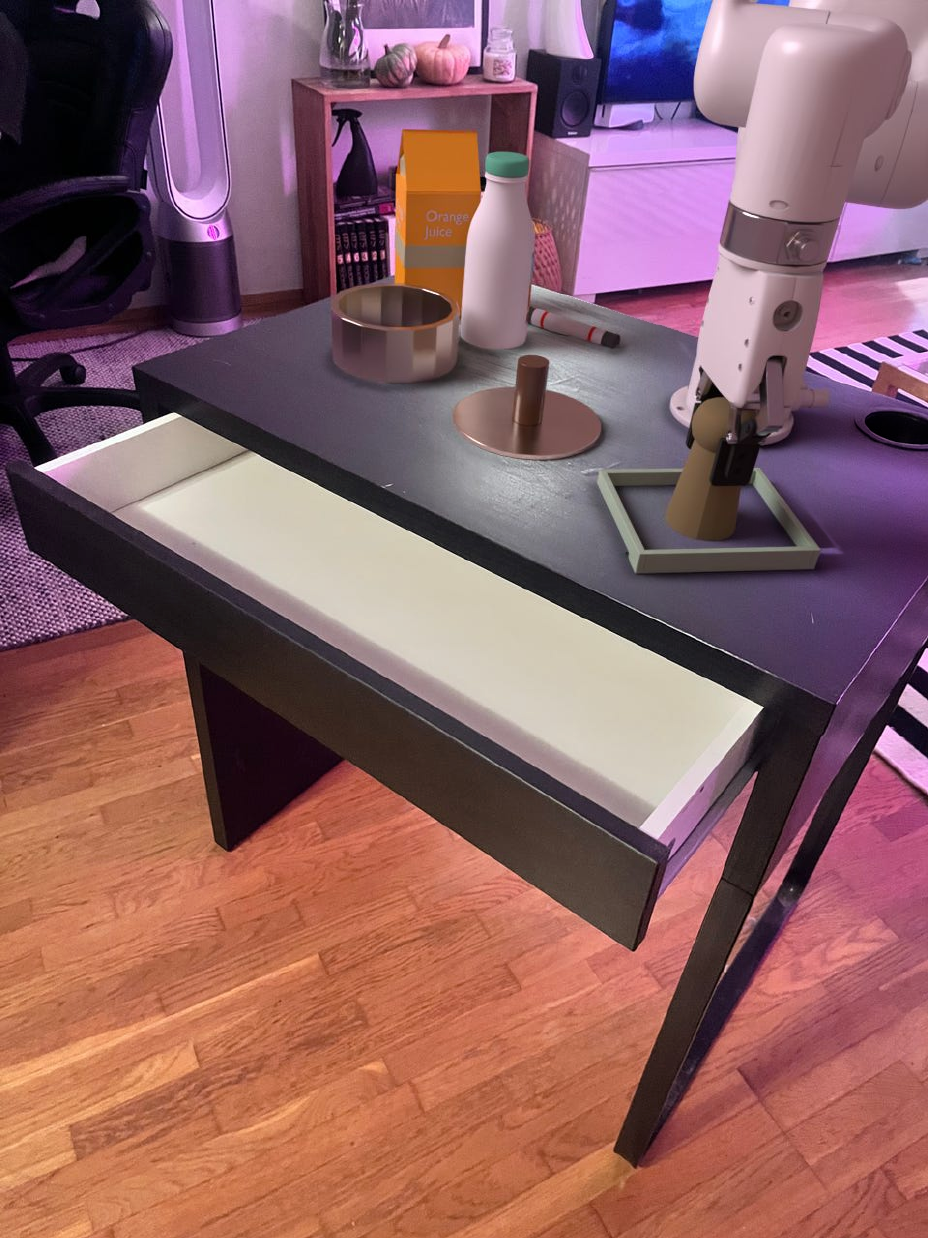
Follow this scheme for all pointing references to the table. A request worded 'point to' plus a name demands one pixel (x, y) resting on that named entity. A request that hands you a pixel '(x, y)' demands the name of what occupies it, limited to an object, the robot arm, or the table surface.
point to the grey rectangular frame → (713, 557)
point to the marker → (572, 327)
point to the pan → (394, 332)
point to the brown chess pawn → (705, 479)
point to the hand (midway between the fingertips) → (716, 463)
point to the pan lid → (527, 417)
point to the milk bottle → (499, 258)
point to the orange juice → (435, 208)
